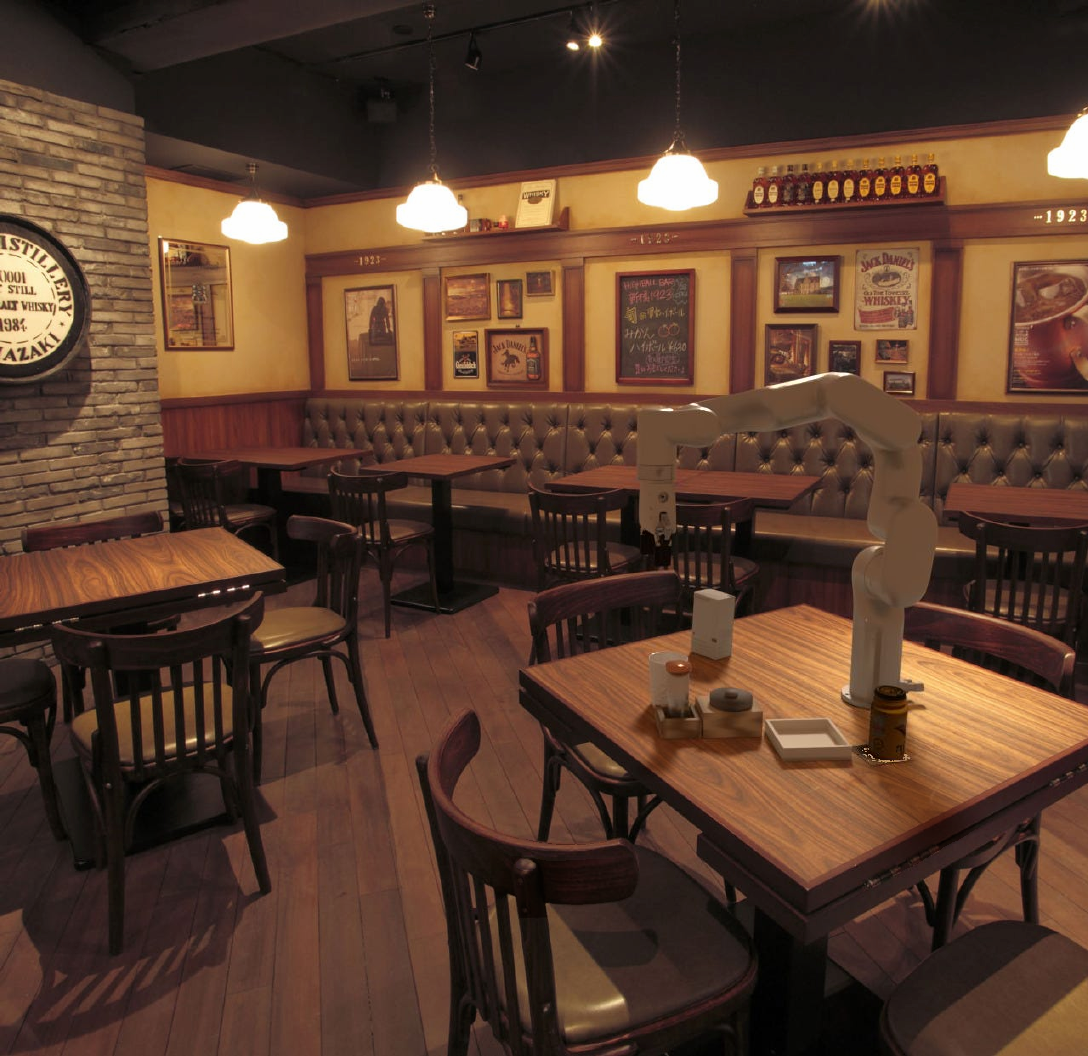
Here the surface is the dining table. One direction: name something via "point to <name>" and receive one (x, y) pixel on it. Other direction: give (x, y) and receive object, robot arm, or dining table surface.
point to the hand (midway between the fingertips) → (654, 560)
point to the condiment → (886, 726)
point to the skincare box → (712, 623)
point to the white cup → (661, 674)
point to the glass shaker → (678, 688)
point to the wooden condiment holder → (714, 716)
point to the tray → (807, 739)
